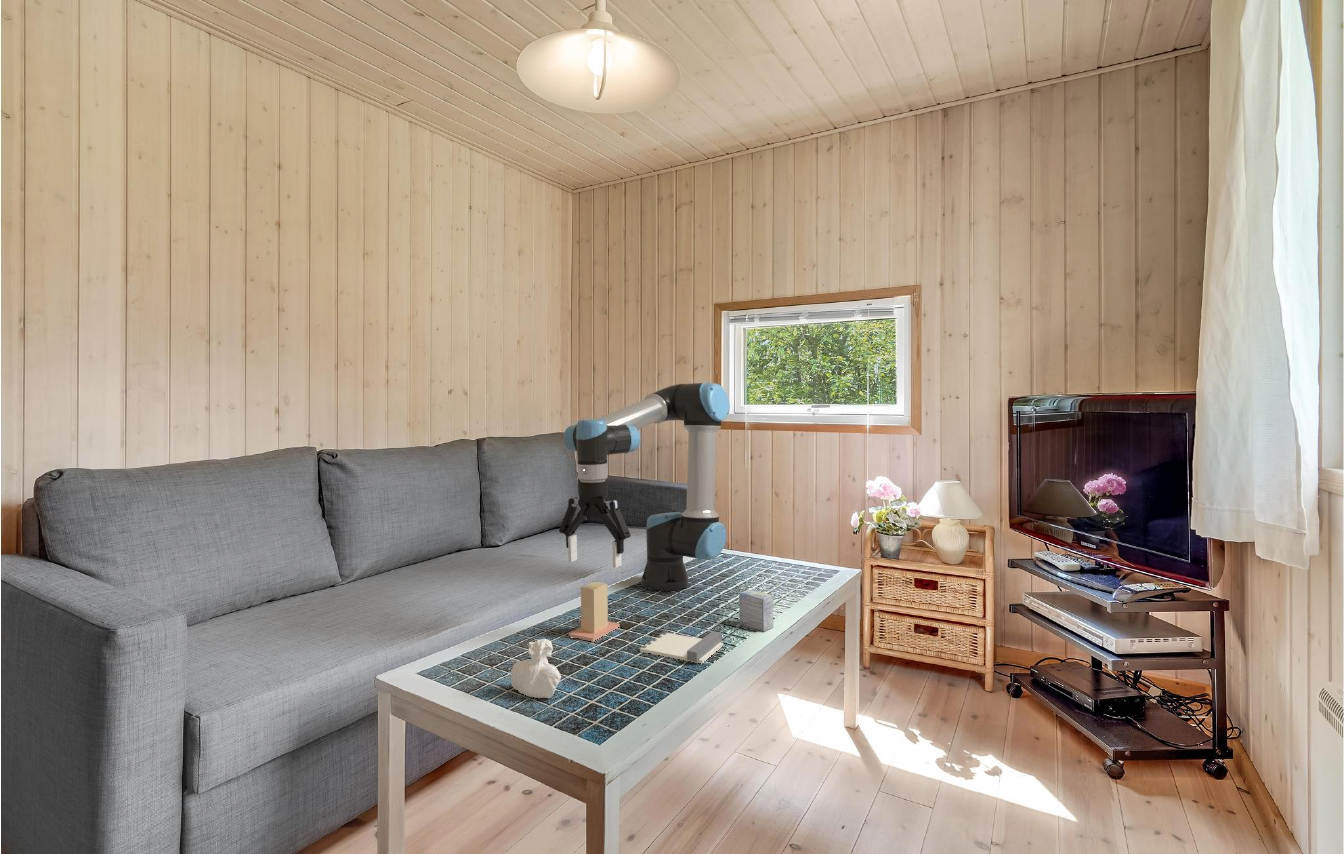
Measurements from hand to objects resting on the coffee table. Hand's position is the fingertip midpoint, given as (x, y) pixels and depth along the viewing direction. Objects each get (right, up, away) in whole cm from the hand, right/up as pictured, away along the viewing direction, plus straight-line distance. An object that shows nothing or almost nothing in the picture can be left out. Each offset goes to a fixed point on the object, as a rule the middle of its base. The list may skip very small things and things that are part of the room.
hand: (594, 563), depth 163 cm
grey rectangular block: (+42, -18, +4) cm, 45 cm away
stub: (0, -18, 0) cm, 18 cm away
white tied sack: (-8, -19, -33) cm, 39 cm away
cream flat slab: (+22, -18, -11) cm, 31 cm away
